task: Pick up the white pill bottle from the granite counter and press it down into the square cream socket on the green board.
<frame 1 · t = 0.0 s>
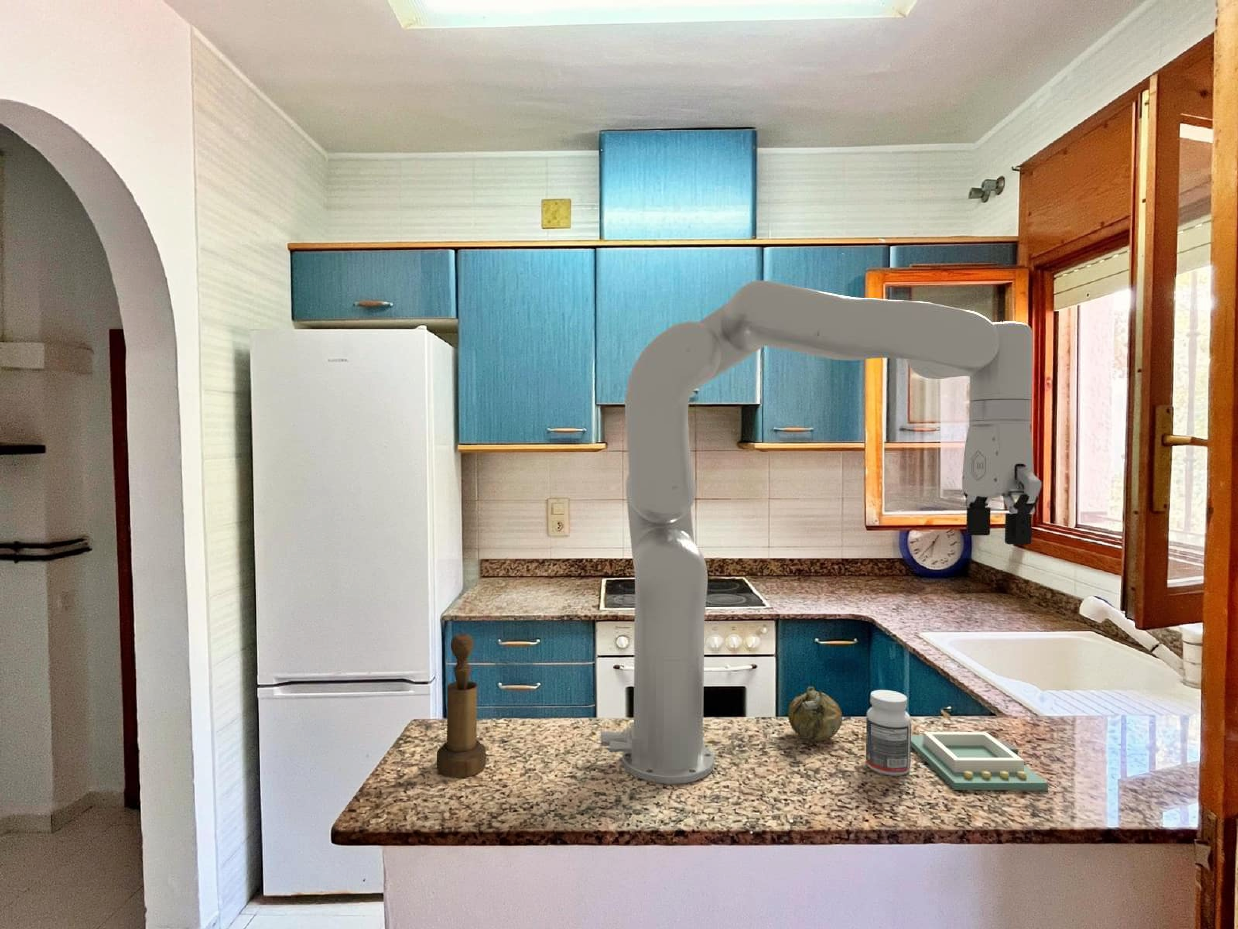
hand: (997, 539, 96), 31 cm above the countertop, tool pointing down, fingers open, 9 cm apart
onion: (814, 739, 105), on the countertop
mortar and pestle: (461, 768, 95), on the countertop
board: (971, 764, 97), on the countertop
pill bottle: (887, 769, 96), on the countertop
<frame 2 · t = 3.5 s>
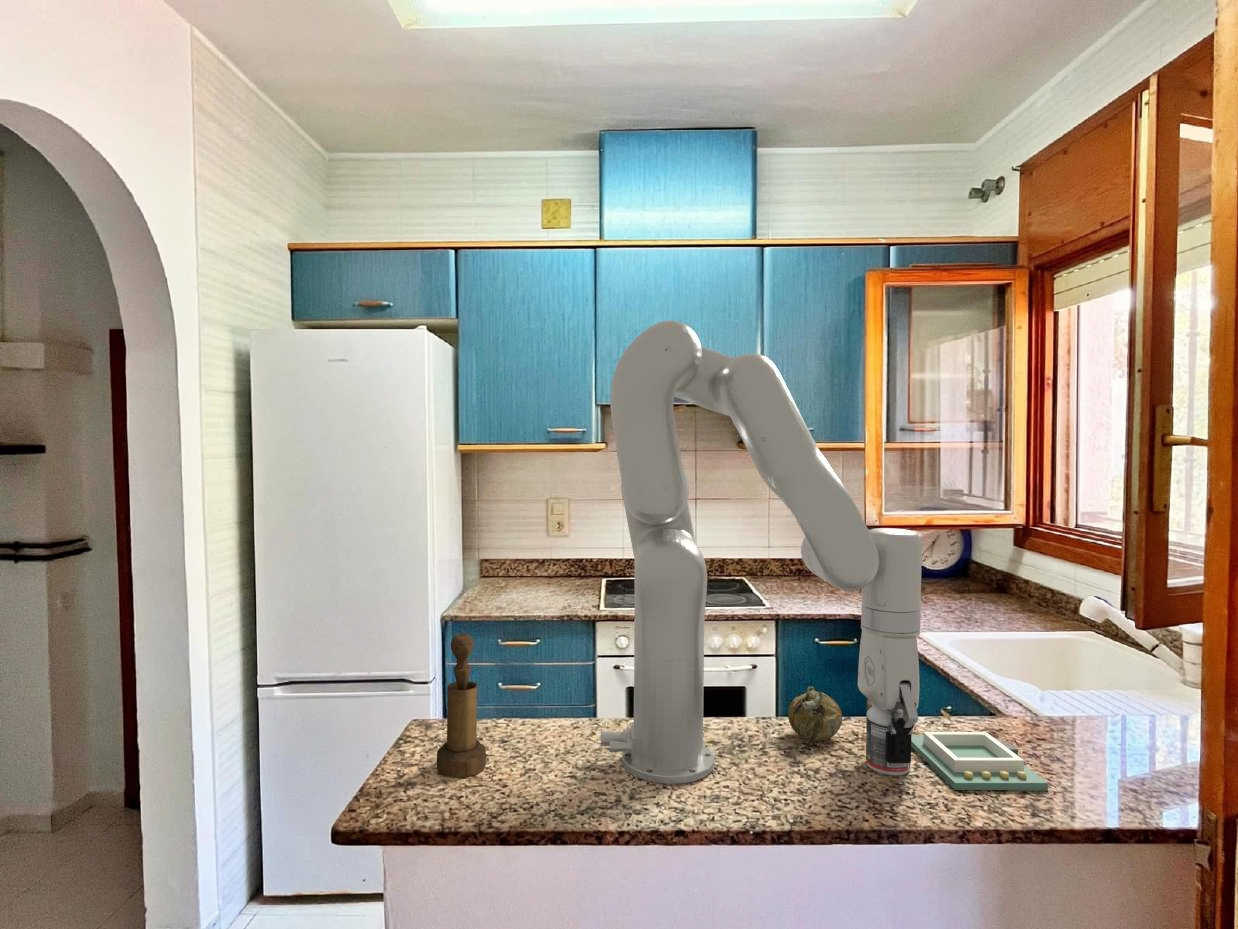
hand: (888, 750, 96), 2 cm above the countertop, tool pointing down, fingers closed on pill bottle, 5 cm apart
pill bottle: (887, 769, 96), on the countertop, touching gripper
everything else where it was.
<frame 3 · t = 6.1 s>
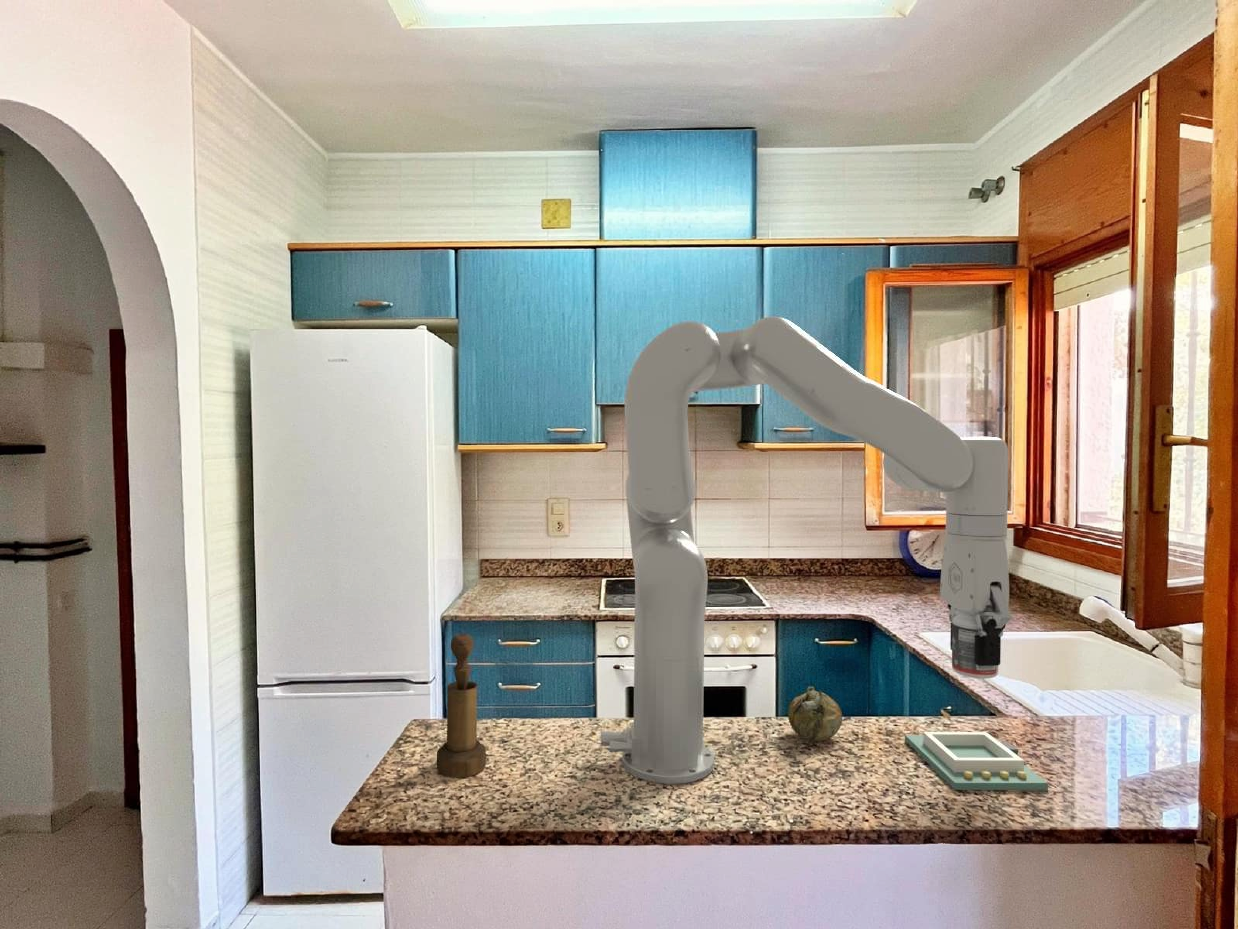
hand: (974, 656, 96), 15 cm above the countertop, tool pointing down, fingers closed on pill bottle, 5 cm apart
pill bottle: (974, 674, 97), point 12 cm above the countertop, touching gripper
everything else where it was.
when the fingers open (4 cm above the countertop, at t = 8.7 s): pill bottle stays where it is, resting on board.
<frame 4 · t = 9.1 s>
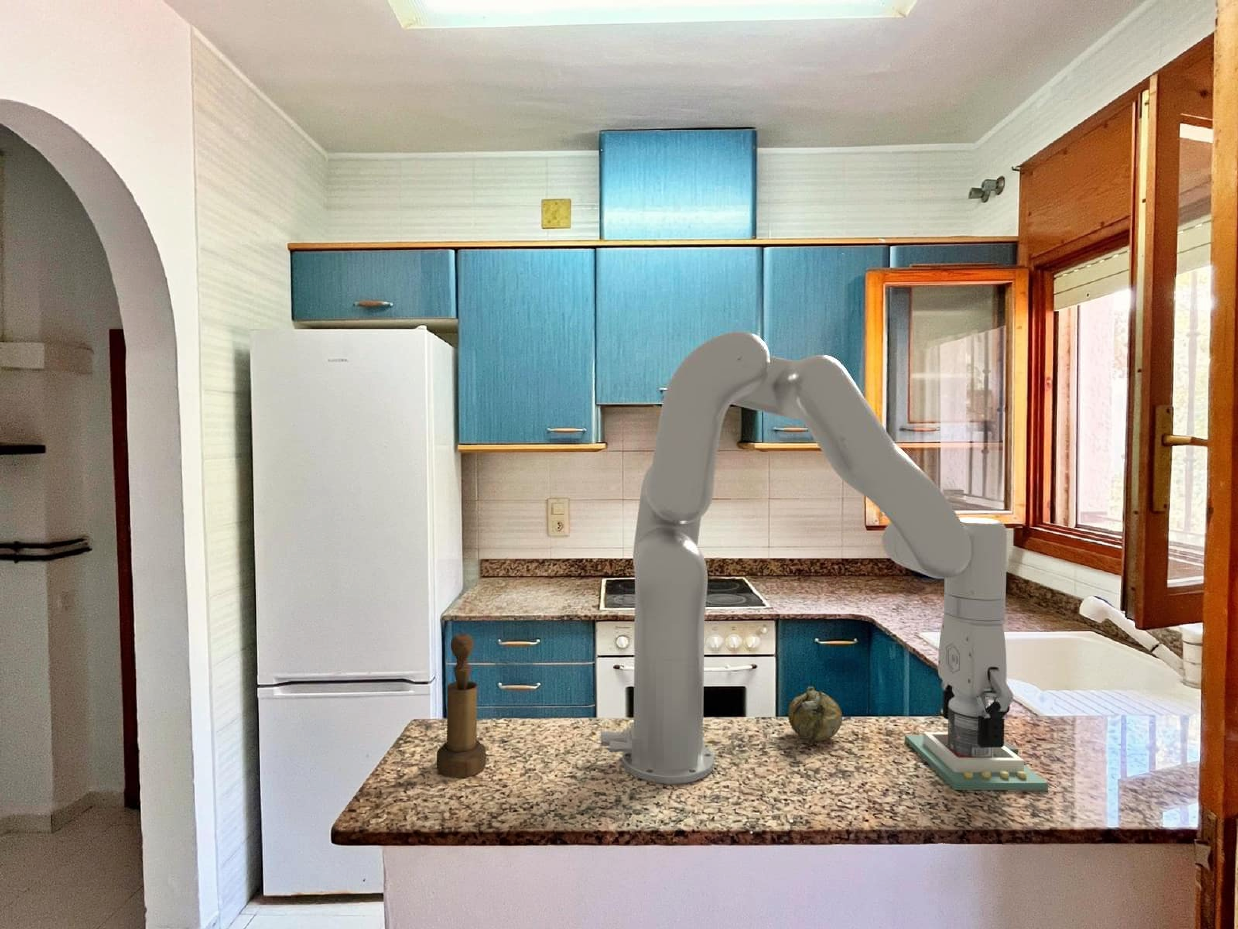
hand: (971, 731, 97), 5 cm above the countertop, tool pointing down, fingers open, 9 cm apart
pill bottle: (970, 758, 97), point 1 cm above the countertop, touching board
everything else where it was.
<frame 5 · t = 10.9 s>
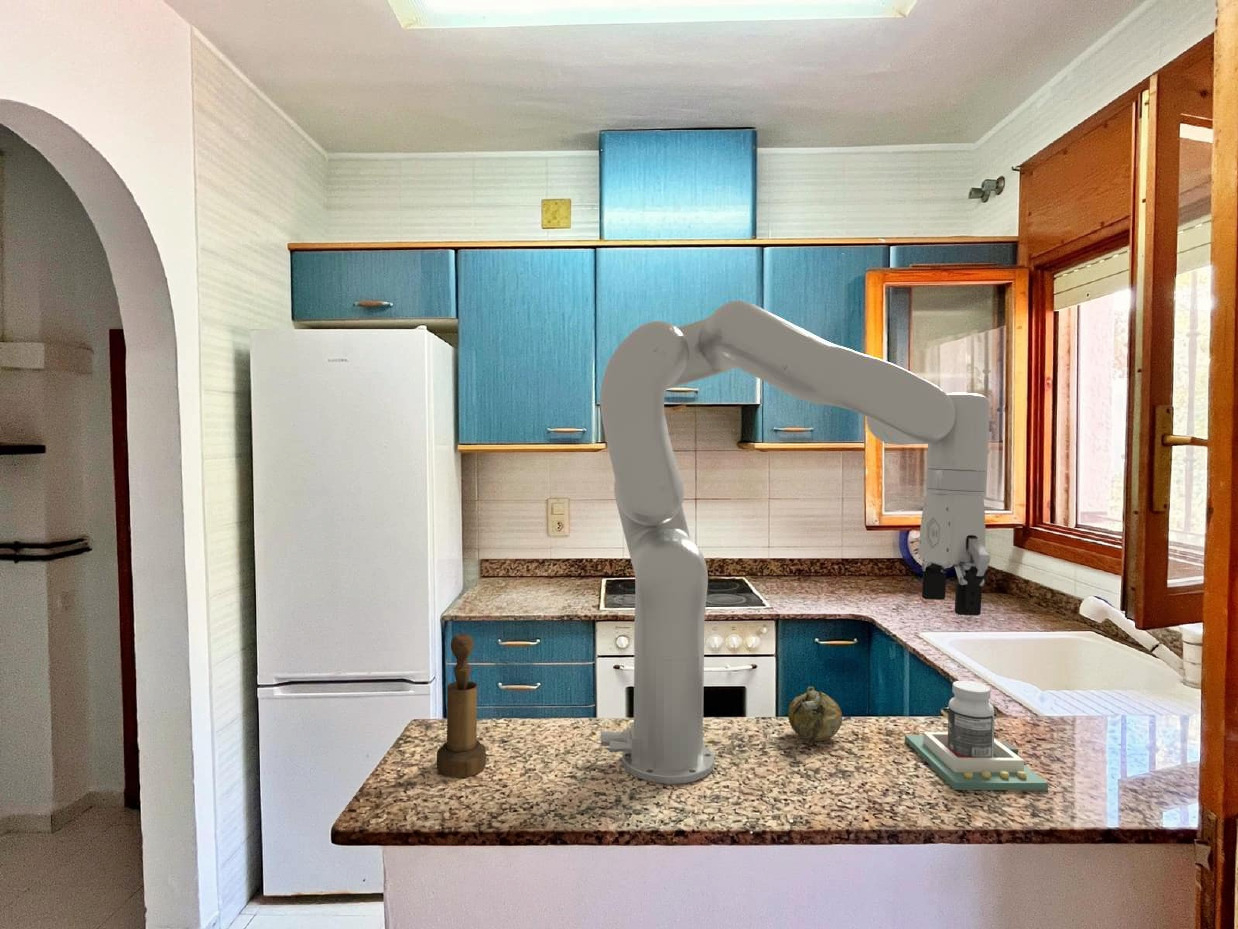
hand: (949, 606, 97), 22 cm above the countertop, tool pointing down, fingers open, 9 cm apart
nothing on the countertop moved.
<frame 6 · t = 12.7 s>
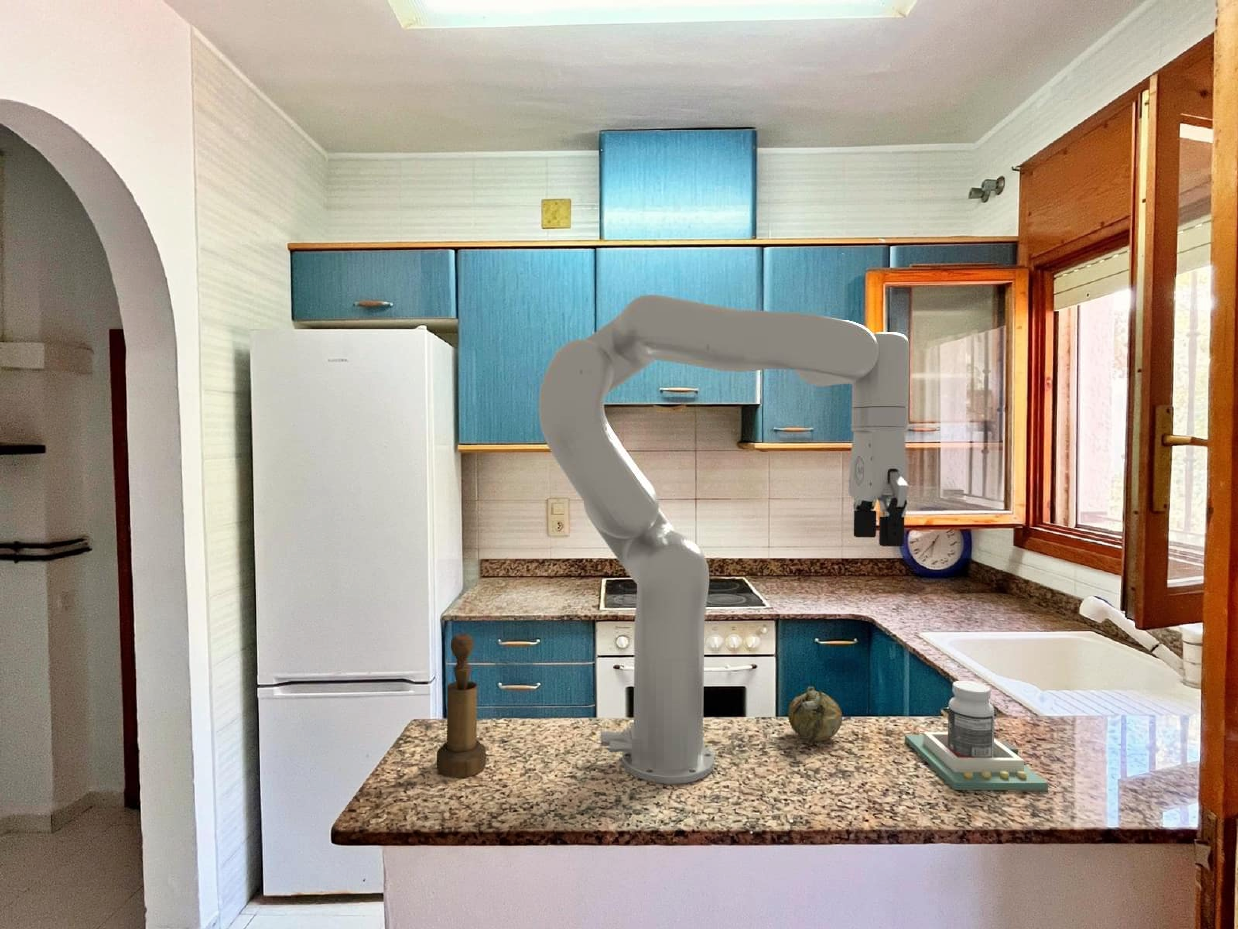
hand: (877, 541, 100), 30 cm above the countertop, tool pointing down, fingers open, 9 cm apart
nothing on the countertop moved.
at the end: pill bottle 0.2 cm off-centre on the board, point 0.8 cm above the board's base; pill bottle tilted 0°; the gripper is holding nothing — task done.
